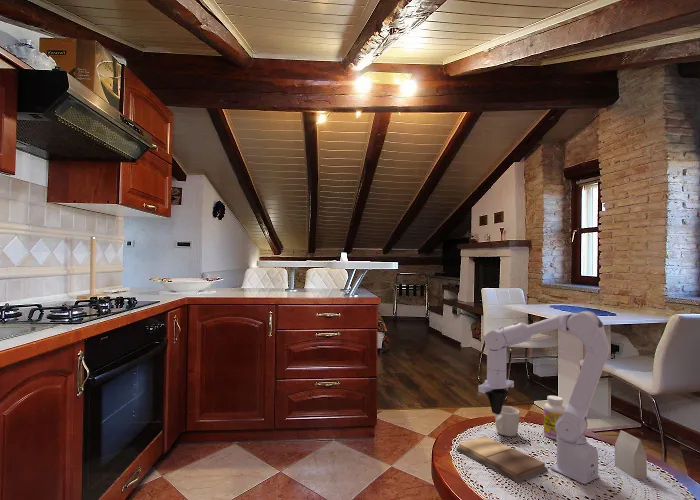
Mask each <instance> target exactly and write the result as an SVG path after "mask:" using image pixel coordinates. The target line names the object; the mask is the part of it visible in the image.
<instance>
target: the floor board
mask: <svg viewBox="0 0 700 500" xmlns="http://www.w3.org/2000/svg"><path fill="white" fill-rule="evenodd" d="M455 449H456V451H457V452H459V453H461V454H463V455H464V456H466V457H469V458H470V459H472V460H473V461H476V462H478V463H480V464H482V465H484V466H485V467H487V468H489V469H491V470H493V471H495V472H496V473H498V474H500V475H502V476H504V477H506V478H508V479H510V480H511V481H512V482H513V481H514V482H515V483H516V484H519V483H522V482H525V481H527V480H529V479H531V478H534V477H536V476H537V477H538V476H540V475H541V474H543V473H546V472H548V470H549V468H548V467H546V463H545V462H543V461H541V460H539V459H537V458H534V457H533V456H530V455H528V454H525V453H523V452H522V451H520V450H517V449H515V448H512V449H510V450H507V451H504V452H501V453H498V454H495V455H492V456H489V457H486V461H484V460H482V459H480V458H478V457H476V456H475V455H473V454H471V453H469V452H467V451H465V450H463V449H461V448H459V446H458V447H456V448H455Z"/></svg>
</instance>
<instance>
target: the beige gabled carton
mask: <svg viewBox="0 0 700 500" xmlns="http://www.w3.org/2000/svg"><path fill="white" fill-rule="evenodd" d="M647 459H648V457H647V453H646V451H645V449H644V446H643V443H642V440H641V439H639V438H638V437H635V436H634V435H633V434H632V435H631V434H630V433H628V432H626V431H624V430H621V429H620V430H619V434H618V437H617V439H616V441H615V444H614V466H615V467H616V468H618V469H619V470H621V471H622V472H623V473H625V474H627V475H628V476H630V477H631V478H633V479H647V478H648V477H647V476H648V473H647V472H648V470H647V468H648V467H647V465H648V464H647V463H648V462H647V461H648V460H647Z"/></svg>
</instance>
